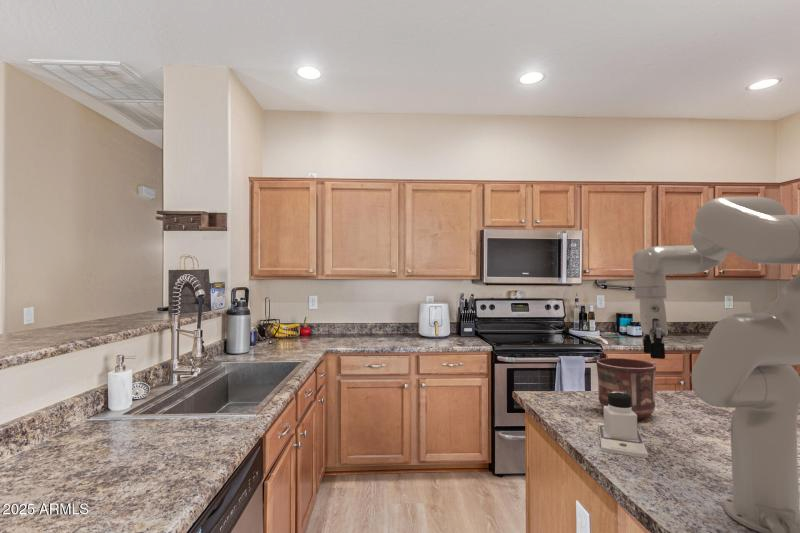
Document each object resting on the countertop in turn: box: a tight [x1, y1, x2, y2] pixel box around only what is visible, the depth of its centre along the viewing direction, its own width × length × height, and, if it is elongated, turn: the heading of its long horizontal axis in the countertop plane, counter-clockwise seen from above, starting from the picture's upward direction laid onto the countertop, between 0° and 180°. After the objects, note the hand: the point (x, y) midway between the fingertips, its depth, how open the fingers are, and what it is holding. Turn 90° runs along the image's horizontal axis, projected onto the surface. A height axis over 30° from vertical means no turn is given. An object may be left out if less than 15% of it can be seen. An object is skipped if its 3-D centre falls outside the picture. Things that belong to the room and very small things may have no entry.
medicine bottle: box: [603, 392, 639, 440], centre depth 115 cm, size 7×7×12 cm
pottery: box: [595, 357, 657, 422], centre depth 134 cm, size 18×18×18 cm
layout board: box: [597, 422, 649, 459], centre depth 113 cm, size 20×11×1 cm, turn 156°
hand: (654, 355), depth 108 cm, fingers open, 9 cm apart
